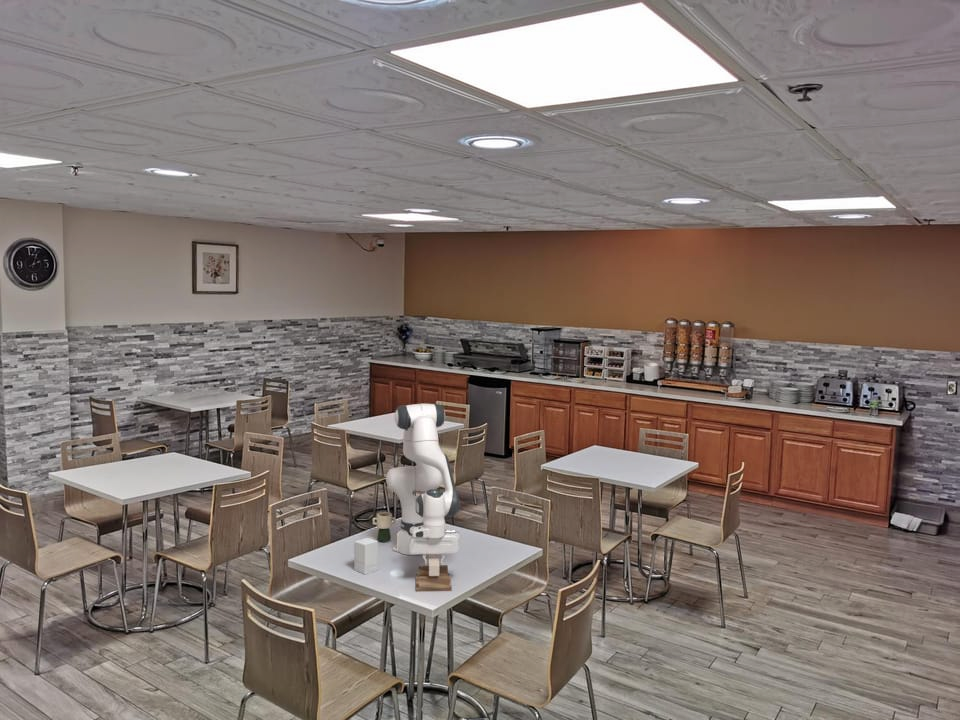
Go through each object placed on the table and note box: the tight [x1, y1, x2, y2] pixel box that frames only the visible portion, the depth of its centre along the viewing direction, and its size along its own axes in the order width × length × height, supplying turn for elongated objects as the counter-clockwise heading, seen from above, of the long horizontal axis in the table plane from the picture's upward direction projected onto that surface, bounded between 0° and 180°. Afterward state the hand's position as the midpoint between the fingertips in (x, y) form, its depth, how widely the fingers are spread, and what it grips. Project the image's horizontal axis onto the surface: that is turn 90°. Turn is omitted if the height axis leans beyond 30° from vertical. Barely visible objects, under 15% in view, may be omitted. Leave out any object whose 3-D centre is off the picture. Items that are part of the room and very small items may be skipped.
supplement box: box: [353, 537, 379, 575], centre depth 300 cm, size 7×7×13 cm
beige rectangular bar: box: [427, 554, 440, 576], centre depth 286 cm, size 16×4×4 cm, turn 5°
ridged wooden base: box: [415, 564, 453, 592], centre depth 287 cm, size 15×14×5 cm
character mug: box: [372, 511, 397, 542], centre depth 338 cm, size 11×7×13 cm, turn 98°
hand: (433, 564), depth 286 cm, fingers closed on beige rectangular bar, 4 cm apart
